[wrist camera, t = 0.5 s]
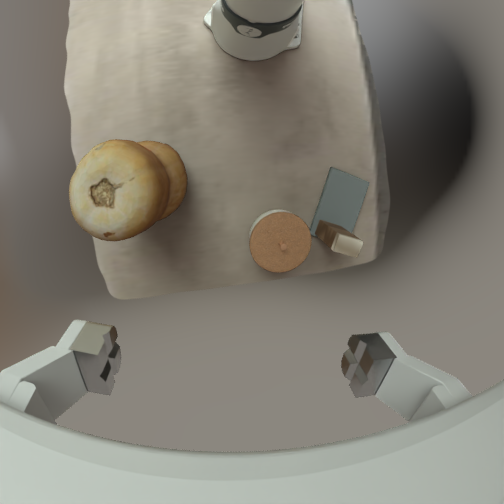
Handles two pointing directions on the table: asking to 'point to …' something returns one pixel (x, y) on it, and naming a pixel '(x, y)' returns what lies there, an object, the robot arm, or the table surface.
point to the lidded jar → (279, 241)
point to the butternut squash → (126, 188)
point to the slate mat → (340, 200)
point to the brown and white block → (338, 238)
